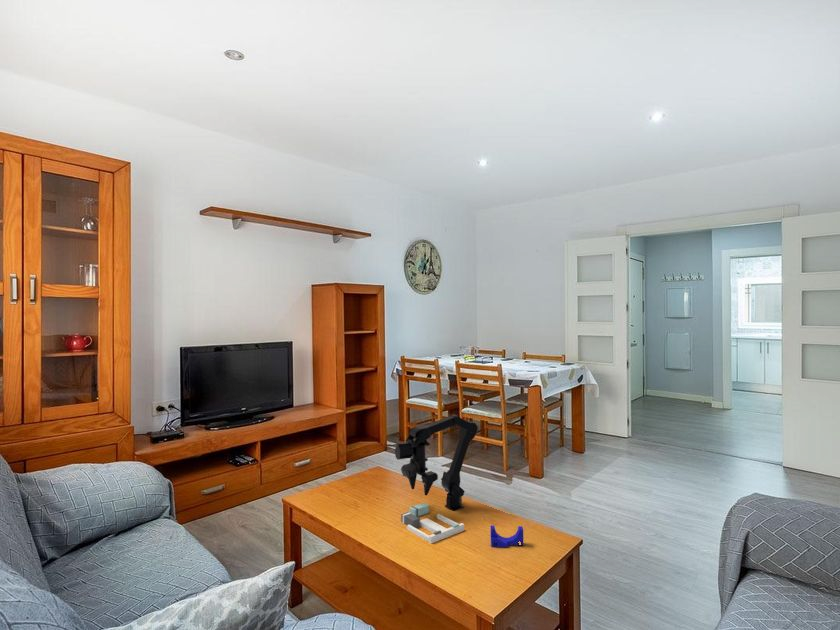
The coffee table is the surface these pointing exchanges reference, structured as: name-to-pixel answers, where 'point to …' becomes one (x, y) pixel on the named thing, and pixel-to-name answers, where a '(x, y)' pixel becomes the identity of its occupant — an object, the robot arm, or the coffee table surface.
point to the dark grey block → (410, 519)
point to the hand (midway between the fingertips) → (419, 492)
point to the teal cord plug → (419, 509)
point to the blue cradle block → (504, 542)
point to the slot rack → (437, 529)
